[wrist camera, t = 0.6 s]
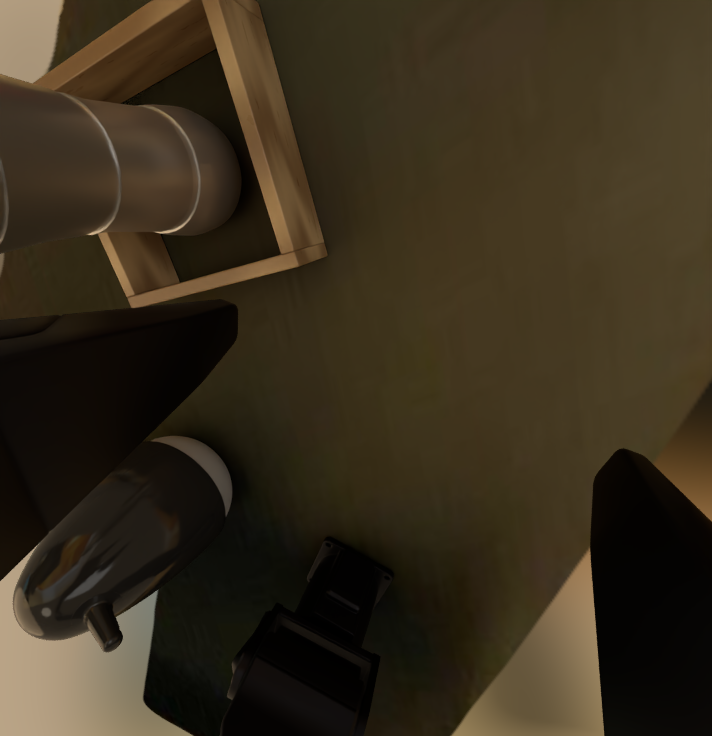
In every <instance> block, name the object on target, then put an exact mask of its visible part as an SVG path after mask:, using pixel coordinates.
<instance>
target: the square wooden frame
mask: <svg viewBox="0 0 712 736" xmlns="http://www.w3.org/2000/svg"><path fill="white" fill-rule="evenodd" d="M216 48H217V51H218V54H219V57H220V60H221V63H222V66H223V70H224V73H225V76H226V79H227V82H228V86H229V89H230V92H231V95H232V98H233V102H234V105H235V108H236V111H237V114H238V118H239V121H240V124H241V127H242V130H243V133H244V137H245V140H246V143H247V146H248V149H249V153H250V156H251V159H252V162H253V165H254V169H255V172H256V175H257V178H258V181H259V184H260V188H261V191H262V194H263V197H264V200H265V204H266V207H267V210H268V213H269V216H270V220H271V223H272V226H273V229H274V232H275V236H276V239H277V242H278V245H279V248H280V251H281V255H278V256H274V257H271V258H267V259H263V260H260V261H256V262H253V263H249V264H245V265H242V266H238V267H235V268H231V269H227V270H224V271H220V272H216V273H213V274H209V275H206V276H202V277H198V278H195V279H191V280H188V281H184V282H180V281H179V279H178V276H177V274H176V271H175V269H174V266H173V264H172V261H171V259H170V256H169V254H168V252H167V249H166V247H165V244H164V242H163V239H162V237H161V234H160V233H156V232H106V233H100V234H98V235H99V237H100V240H101V242H102V244H103V246H104V248H105V251H106V253H107V255H108V257H109V259H110V262H111V264H112V266H113V268H114V270H115V272H116V275H117V277H118V279H119V281H120V283H121V286H122V288H123V290H124V292H125V294H126V296H127V297H128V301H129V303H130V305H131V307H132V308H136V307H144V306H148V305H152V304H156V303H159V302H163V301H167V300H171V299H175V298H179V297H183V296H187V295H191V294H195V293H199V292H202V291H206V290H210V289H214V288H218V287H222V286H226V285H230V284H234V283H238V282H241V281H245V280H249V279H253V278H257V277H261V276H265V275H269V274H273V273H277V272H280V271H284V270H288V269H292V268H296V267H299V266H302V265H305V264H308V263H310V262H313V261H316V260H319V259H321V258H324V257H327V256H328V254H327V250H326V247H325V244H324V239H323V236H322V232H321V228H320V225H319V221H318V217H317V214H316V210H315V206H314V203H313V199H312V196H311V192H310V188H309V185H308V181H307V177H306V174H305V170H304V166H303V163H302V159H301V156H300V152H299V148H298V145H297V141H296V137H295V134H294V130H293V126H292V123H291V119H290V116H289V112H288V108H287V105H286V101H285V97H284V94H283V90H282V87H281V83H280V79H279V76H278V72H277V68H276V65H275V61H274V57H273V54H272V50H271V47H270V43H269V39H268V36H267V32H266V28H265V25H264V22H263V17H262V14H261V10H260V7H259V3H258V2H257V1H255V0H152V1H150V2H149V3H147V4H146V5H144V6H143V7H142V8H140V9H139V10H137V11H136V12H134V13H133V14H132V15H130V16H129V17H127V18H126V19H124V20H123V21H122V22H120V23H119V24H117V25H116V26H114V27H113V28H112V29H110V30H109V31H107V32H106V33H104V34H103V35H102V36H100V37H99V38H97V39H96V40H94V41H93V42H92V43H90V44H89V45H87V46H86V47H84V48H83V49H82V50H80V51H79V52H77V53H76V54H74V55H73V56H71V57H70V58H69V59H67V60H66V61H64V62H63V63H61V64H60V65H59V66H57V67H56V68H54V69H53V70H51V71H50V72H49V73H47V74H46V75H44V76H43V77H41V78H40V79H39V80H37V81H36V82H34V83H33V84H36V85H39V86H42V87H46V88H49V89H51V90H54V91H56V92H62V93H66V94H70V95H73V96H76V97H80V98H83V99H88V100H96V101H103V102H111V103H118V104H121V103H122V102H124V101H126V100H128V99H129V98H131V97H133V96H134V95H136V94H138V93H140V92H141V91H143V90H145V89H147V88H148V87H150V86H152V85H154V84H155V83H157V82H159V81H161V80H162V79H164V78H166V77H168V76H169V75H171V74H173V73H175V72H176V71H178V70H180V69H181V68H183V67H185V66H187V65H188V64H190V63H192V62H194V61H195V60H197V59H199V58H201V57H202V56H204V55H206V54H208V53H209V52H211V51H213V50H215V49H216ZM179 282H180V283H179Z"/></svg>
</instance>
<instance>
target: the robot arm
mask: <svg viewBox="0 0 712 736" xmlns="http://www.w3.org/2000/svg"><path fill="white" fill-rule="evenodd" d="M237 334H238V309H237V306H236V305H235V304H233V303H230V302H227V301H225V300H221V299H218V300H208V301H198V302H188V303H177V304H167V305H157V306H146V307H136V308H126V309H115V310H105V311H95V312H85V313H74V314H64V315H62V316H60V315H53V316H43V317H32V318H20V319H8V320H0V581H1V580H2V579H3V578H4V577H5V576H6V575H7V574H8V573H9V572H10V571H11V570H12V569H13V568H14V567H15V566H16V565H17V564H18V563H19V562H20V561H21V560H22V559H23V558H24V557H25V556H26V555H27V554H28V553H29V552H30V551H32V550H33V549H34V547H36V546H37V545H38V544H39V543H40V542H41V541H42V540H43V539H44V538H45V537H46V536H47V535H48V534H49V531H51V530H53V529H54V528H55V527H56V526H57V525H58V524H59V523H60V522H61V521H62V520H63V519H64V518H65V517H66V516H67V515H68V514H69V513H70V512H71V511H72V510H73V509H74V508H75V507H76V506H77V505H78V504H79V503H80V502H81V501H82V500H83V499H84V498H85V497H86V496H87V495H88V494H89V493H90V492H91V491H92V490H93V489H94V488H95V487H96V486H97V485H98V484H99V483H100V482H102V481H103V480H104V479H105V478H106V477H107V476H108V475H109V474H110V473H111V472H112V471H113V470H114V469H115V468H116V467H117V466H118V465H119V464H120V463H121V462H122V461H123V460H124V459H125V458H126V457H127V456H128V455H129V454H130V453H131V452H132V451H133V450H134V449H135V448H136V447H137V446H138V445H139V444H140V443H141V442H142V441H143V440H144V439H145V438H146V437H147V436H148V435H149V434H150V433H151V432H152V431H154V430H155V429H156V428H157V427H158V426H159V425H160V424H161V423H162V422H163V421H164V420H165V419H166V418H167V417H168V416H169V415H170V414H171V413H172V412H173V411H174V410H175V409H176V408H177V407H178V406H179V405H180V404H181V403H182V402H183V401H184V400H185V399H186V398H187V397H188V396H189V395H190V394H191V393H192V392H193V391H194V390H195V389H196V388H197V387H198V386H199V385H200V384H201V383H202V382H203V381H204V379H205V378H206V377H207V376H208V375H209V373H210V372H211V371H212V370H213V369H214V367H215V366H216V365H217V364H218V362H219V361H220V360H221V359H222V357H223V356H224V355H225V354H226V353H227V351H228V350H229V349H230V348H231V346H232V345H233V344H234V342H235V341H236V338H237ZM590 552H591V568H592V581H593V594H594V607H595V620H596V633H597V646H598V659H599V672H600V684H601V697H602V709H603V723H604V736H712V522H711V521H710V520H709V519H708V518H707V517H706V516H705V515H704V514H703V513H702V512H701V511H700V510H699V509H698V508H697V507H696V506H695V505H694V504H693V503H692V502H691V501H690V500H689V499H688V498H687V497H686V496H685V495H684V494H683V493H682V492H681V491H680V490H679V489H678V488H677V487H675V485H673V483H672V482H670V481H669V480H668V479H667V478H666V477H665V476H664V475H663V474H662V473H661V472H660V471H659V470H658V469H657V468H656V467H655V466H654V465H653V464H652V463H651V462H650V461H649V460H648V459H647V458H646V457H645V456H643V455H641V454H638V453H636V452H633V451H630V450H627V449H624V448H623V449H619V450H617V451H616V452H615V453H614V454H613V455H612V456H611V457H610V459H609V460H608V461H607V462H606V463H605V465H604V466H603V467H602V468H601V469H600V470H599V472H598V473H597V474H596V476H595V479H594V483H593V499H592V518H591V538H590ZM393 576H394V574H393V572H392V571H390V570H389V569H387V568H385V567H383V566H381V565H380V564H378V563H376V562H374V561H372V560H371V559H369V558H367V557H365V556H363V555H361V554H360V553H358V552H356V551H354V550H352V549H351V548H349V547H347V546H345V545H343V544H342V543H340V542H338V541H336V540H334V539H333V538H330V537H327V538H325V540H324V542H323V544H322V546H321V549H320V551H319V553H318V555H317V557H316V559H315V562H314V564H313V566H312V568H311V570H310V572H309V575H308V577H307V580H308V582H309V584H308V586H307V588H306V590H305V592H304V594H303V596H302V598H301V601H300V603H299V605H298V607H297V609H296V611H295V613H294V612H292V611H290V610H288V609H286V608H284V607H283V605H281V604H279V603H276V605H275V606H274V608H273V609H272V611H268V612H266V613H265V615H264V616H263V618H262V620H261V622H260V624H259V625H258V627H257V629H256V630H255V632H254V633H253V635H252V636H251V637H250V638H249V640H248V641H247V642H246V643H245V645H244V646H243V647H242V648H241V650H240V651H239V652H238V653H237V655H236V656H235V658H234V660H233V662H232V669H233V677H232V680H231V685H230V688H229V691H228V695H227V697H228V698H230V699H232V702H231V704H230V706H229V708H228V710H227V712H226V714H225V716H224V718H223V721H222V724H221V733H220V736H363V735H364V731H365V728H366V724H367V720H368V716H369V712H370V707H371V702H372V697H373V692H374V687H375V682H376V677H377V672H378V667H379V662H380V656H379V655H377V654H375V653H374V654H372V653H370V652H368V651H366V650H364V649H362V648H361V647H362V644H363V640H364V637H365V634H366V631H367V627H368V624H369V621H370V617H371V614H372V611H373V609H374V607H375V606H376V604H377V603H378V601H379V600H380V598H381V597H382V595H383V594H384V592H385V591H386V589H387V588H388V586H389V585H390V583H391V582H392V580H393Z"/></svg>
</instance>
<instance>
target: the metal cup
mask: <svg viewBox="0 0 712 736" xmlns="http://www.w3.org/2000/svg"><path fill="white" fill-rule="evenodd" d="M241 183H242V178H241V170H240V166H239V162H238V159H237V155H236V153H235V151H234V149H233V146H232V144H231V143H230V141H229V140H228V138H227V137H226V135H225V134H224V133H223V132H222V131H221V130H220V129H219V128H218V127H217V126H216V125H214V124H213V123H212V122H210V121H209V120H207V119H205V118H203V117H202V116H200V115H198V114H196V113H195V112H193V111H190V110H188V109H186V108H183V107H177V106H169V105H156V104H151V105H139V106H133V105H126V104H118V103H111V102H103V101H96V100H88V99H83V98H80V97H76V96H73V95H70V94H66V93H62V92H56V91H54V90H51V89H49V88H46V87H42V86H39V85H36V84H32V83H29V82H25V81H22V80H18V79H14V78H12V77H8V76H5V75H2V74H0V254H1V253H5V252H9V251H13V250H17V249H21V248H25V247H29V246H32V245H36V244H40V243H44V242H48V241H55V240H61V239H68V238H74V237H81V236H84V235H94V234H100V233H106V232H156V233H161V234H167V235H180V236H196V235H200V234H203V233H206V232H208V231H210V230H213V229H215V228H217V227H219V226H221V225H223V224H224V223H225V222H226V221H227V220H228V219H229V218H230V217H231V215H232V214H233V212H234V211H235V209H236V206H237V204H238V202H239V197H240V192H241Z"/></svg>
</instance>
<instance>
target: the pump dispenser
mask: <svg viewBox="0 0 712 736" xmlns="http://www.w3.org/2000/svg"><path fill="white" fill-rule="evenodd" d="M231 500H232V482H231V477H230V474H229V472H228V469H227V467H226V465H225V464H224V462H223V461H222V459H221V458H220V457H219V456H218V455H217V454H216V453H215V452H214V451H213V450H212V449H211V448H210V447H208V446H207V445H205V444H204V443H202V442H200V441H198V440H195V439H192V438H189V437H184V436H167V437H161V438H157V439H154V440H151V441H145V442H141V443H140V444H139V445H138V446H137V447H136V448H135V449H134V450H133V451H132V452H131V453H130V454H129V455H128V456H127V457H126V458H125V459H124V460H123V461H122V462H121V463H120V464H119V465H118V466H117V467H116V468H115V469H114V470H113V471H112V472H111V473H110V474H109V475H108V476H107V477H106V478H105V479H104V480H103V481H102V482H100V483H99V484H98V485H97V486H96V487H95V488H94V489H93V490H92V491H91V492H90V493H89V494H88V495H87V496H86V497H85V498H84V499H83V500H82V501H81V502H80V503H79V504H78V505H77V506H76V507H75V508H74V509H73V510H72V511H71V512H70V513H69V514H68V515H67V516H66V517H65V518H64V519H63V520H62V521H61V522H60V523H59V524H58V525H57V526H56V527H55V528H54V529H53V530H51V531H49V534H48V535H47V536H46V537H45V538H44V539H43V540H42V541H41V542H40V543H39V545H38V546H37V547H36V549H35V550H34V552H33V554H32V555H31V557H30V559H29V560H28V562H27V564H26V566H25V568H24V570H23V571H22V573H21V576H20V578H19V580H18V582H17V585H16V588H15V591H14V596H13V610H14V614H15V617H16V620H17V622H18V623H19V625H20V626H21V628H22V629H23V630H24V631H25V632H27V633H28V634H30V635H31V636H34V637H36V638H39V639H44V640H64V639H68V638H72V637H75V636H78V635H80V634H83V633H85V632H88V631H91V633H92V635H93V636H94V638H95V639H96V641H97V642H98V644H99V645H100V647H101V649H102V650H103V651H104V652H111V651H113V650H115V649H116V648H117V647H118V646H119V645H120V644H121V642H122V639H123V635H122V632H121V631H120V630H119V625H118V622H117V620H116V617H117V616H119V615H120V614H122V613H124V612H125V611H127V610H129V609H130V608H131V607H133V606H135V605H136V604H138V603H139V602H141V601H142V600H144V599H145V598H147V597H148V596H150V595H151V594H152V593H154V592H155V591H157V590H158V589H159V588H161V587H162V586H163V585H165V584H166V583H167V582H169V581H170V580H171V579H173V578H174V577H175V576H176V575H177V574H179V573H180V572H181V571H182V570H183V569H185V568H186V567H187V566H188V565H189V564H190V563H191V562H192V561H193V560H195V559H196V558H197V557H198V556H199V555H200V554H201V553H202V552H203V551H204V550H205V549H206V548H207V547H208V546H209V545H210V544H211V543H212V542H213V541H214V540H215V538H216V537H217V536H218V535H219V533H220V532H221V531H222V529H223V527H224V524H225V519H226V515H227V513H228V511H229V508H230V504H231Z"/></svg>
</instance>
